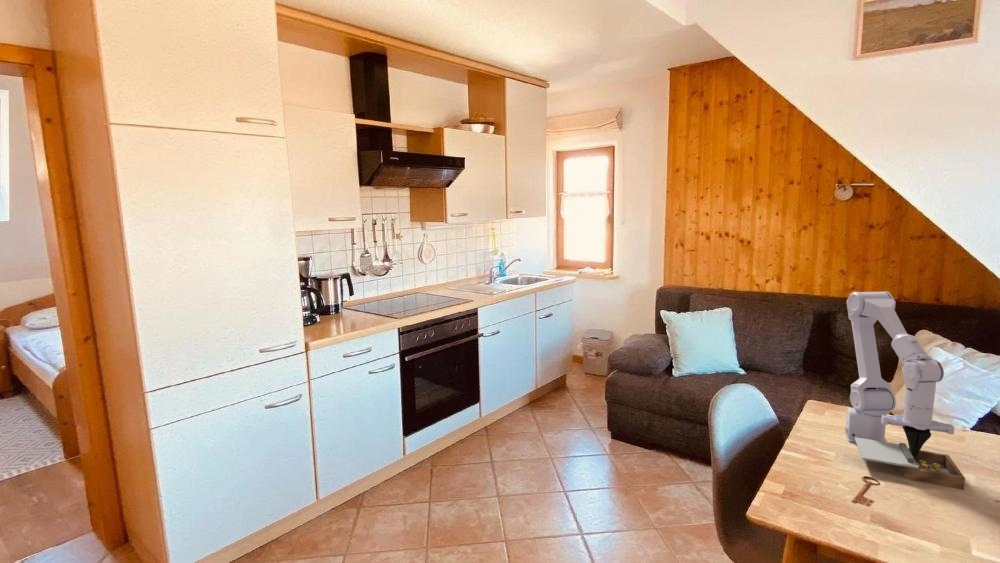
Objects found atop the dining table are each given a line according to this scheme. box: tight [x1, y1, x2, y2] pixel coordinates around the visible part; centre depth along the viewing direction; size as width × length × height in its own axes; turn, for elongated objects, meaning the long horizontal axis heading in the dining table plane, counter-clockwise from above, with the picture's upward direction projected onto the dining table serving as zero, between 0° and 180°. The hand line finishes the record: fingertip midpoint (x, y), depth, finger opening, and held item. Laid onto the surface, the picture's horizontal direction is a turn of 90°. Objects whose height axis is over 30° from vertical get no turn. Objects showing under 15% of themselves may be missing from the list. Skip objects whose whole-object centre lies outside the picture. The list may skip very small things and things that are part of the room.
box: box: [897, 447, 966, 490], centre depth 132 cm, size 12×13×3 cm
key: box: [851, 475, 881, 508], centre depth 124 cm, size 6×1×15 cm
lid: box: [855, 437, 918, 469], centre depth 135 cm, size 12×13×2 cm
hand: (913, 454), depth 133 cm, fingers closed
